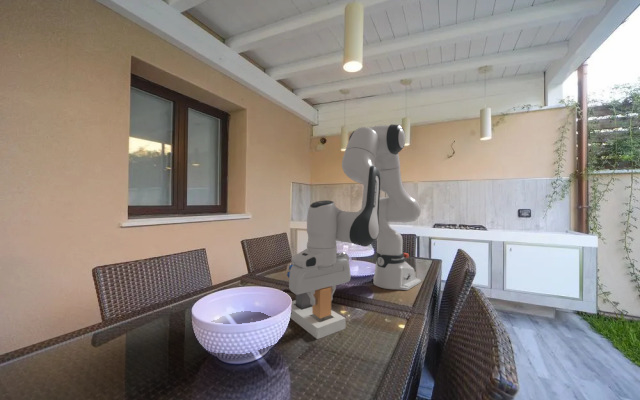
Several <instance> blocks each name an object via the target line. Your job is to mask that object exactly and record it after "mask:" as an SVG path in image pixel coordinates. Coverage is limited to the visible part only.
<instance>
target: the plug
mask: <svg viewBox="0 0 640 400" xmlns="http://www.w3.org/2000/svg"><path fill="white" fill-rule="evenodd" d="M313 295H314V297H315V298H317V299H318V304H317V305H314V306H313V305H312V313H313V314H314V315H316V316H317V317H319V318H323V317H326V316H329V315H331V310H332V300H331V287H327V288H323V289H319V290H315V294H313Z"/></svg>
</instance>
